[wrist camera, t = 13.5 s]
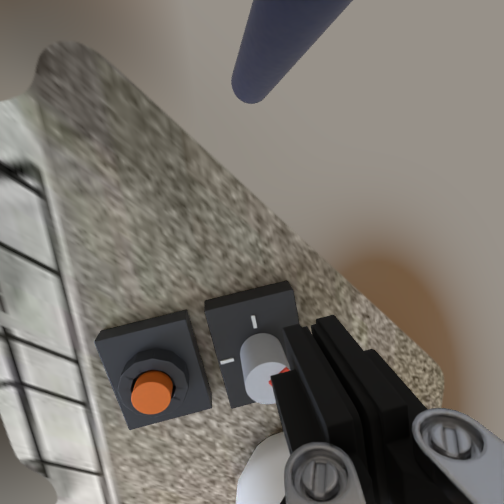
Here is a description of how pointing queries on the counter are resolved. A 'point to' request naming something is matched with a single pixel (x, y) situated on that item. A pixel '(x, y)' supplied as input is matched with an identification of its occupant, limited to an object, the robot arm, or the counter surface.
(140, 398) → the button
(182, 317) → the block
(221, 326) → the timer panel
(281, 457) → the cup
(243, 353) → the timer knob
